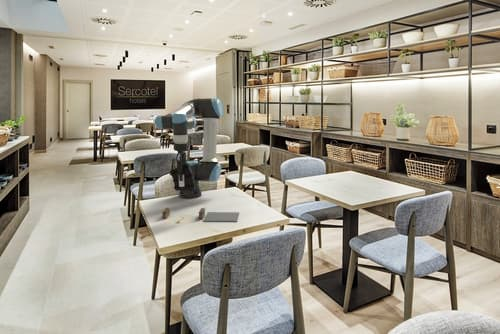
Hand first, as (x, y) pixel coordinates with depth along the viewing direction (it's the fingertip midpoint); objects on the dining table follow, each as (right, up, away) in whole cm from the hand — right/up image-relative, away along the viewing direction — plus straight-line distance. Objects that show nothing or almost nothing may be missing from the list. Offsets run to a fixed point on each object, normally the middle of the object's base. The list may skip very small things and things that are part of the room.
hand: (182, 185), depth 189 cm
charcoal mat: (+21, -18, +2) cm, 28 cm away
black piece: (0, -3, +1) cm, 3 cm away
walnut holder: (0, -18, +3) cm, 18 cm away
